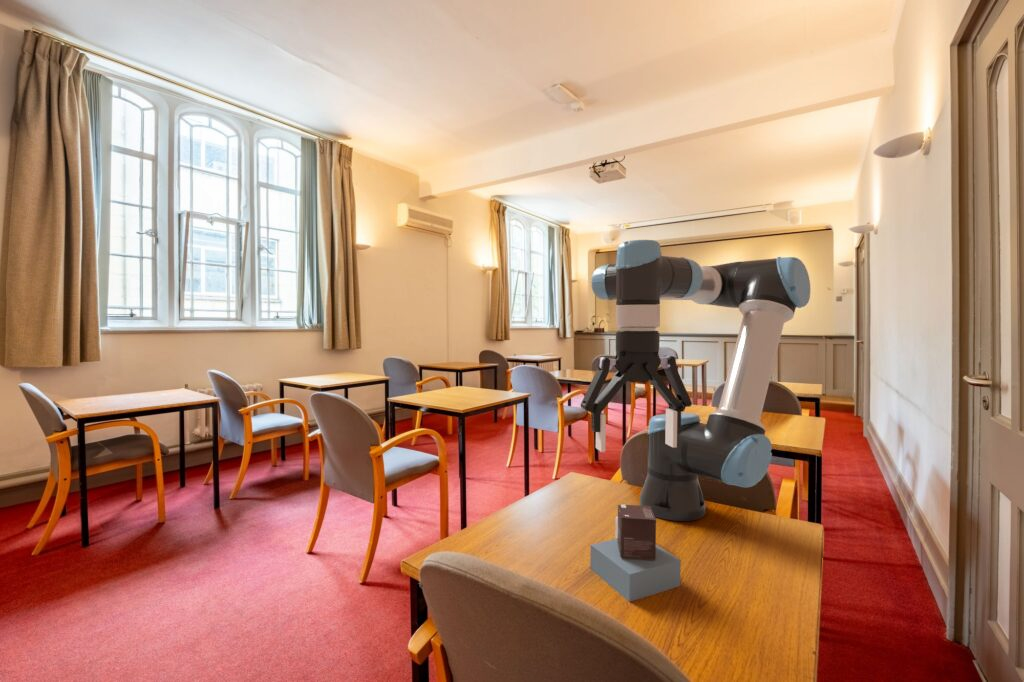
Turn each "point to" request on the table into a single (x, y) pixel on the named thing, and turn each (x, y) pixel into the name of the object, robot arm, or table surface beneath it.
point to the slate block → (635, 571)
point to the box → (636, 532)
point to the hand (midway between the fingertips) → (636, 447)
